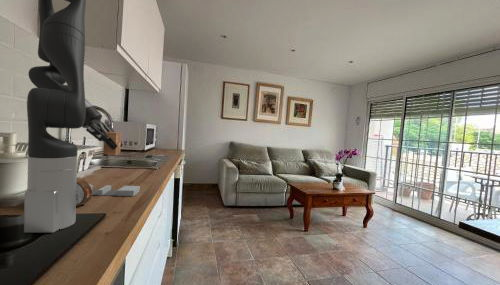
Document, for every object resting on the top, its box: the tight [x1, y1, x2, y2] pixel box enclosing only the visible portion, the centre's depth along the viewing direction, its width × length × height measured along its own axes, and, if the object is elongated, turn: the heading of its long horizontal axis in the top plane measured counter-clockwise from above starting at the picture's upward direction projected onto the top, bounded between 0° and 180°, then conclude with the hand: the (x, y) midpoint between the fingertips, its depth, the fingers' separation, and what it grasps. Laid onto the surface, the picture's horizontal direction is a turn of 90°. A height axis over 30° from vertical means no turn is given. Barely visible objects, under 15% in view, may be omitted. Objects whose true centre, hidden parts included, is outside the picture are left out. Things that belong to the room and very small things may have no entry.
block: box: [103, 131, 122, 156], centre depth 87 cm, size 4×4×8 cm
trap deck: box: [89, 184, 141, 197], centre depth 87 cm, size 7×22×2 cm, turn 99°
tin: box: [76, 177, 93, 207], centre depth 73 cm, size 15×3×8 cm, turn 84°
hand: (118, 147), depth 87 cm, fingers closed on block, 4 cm apart
